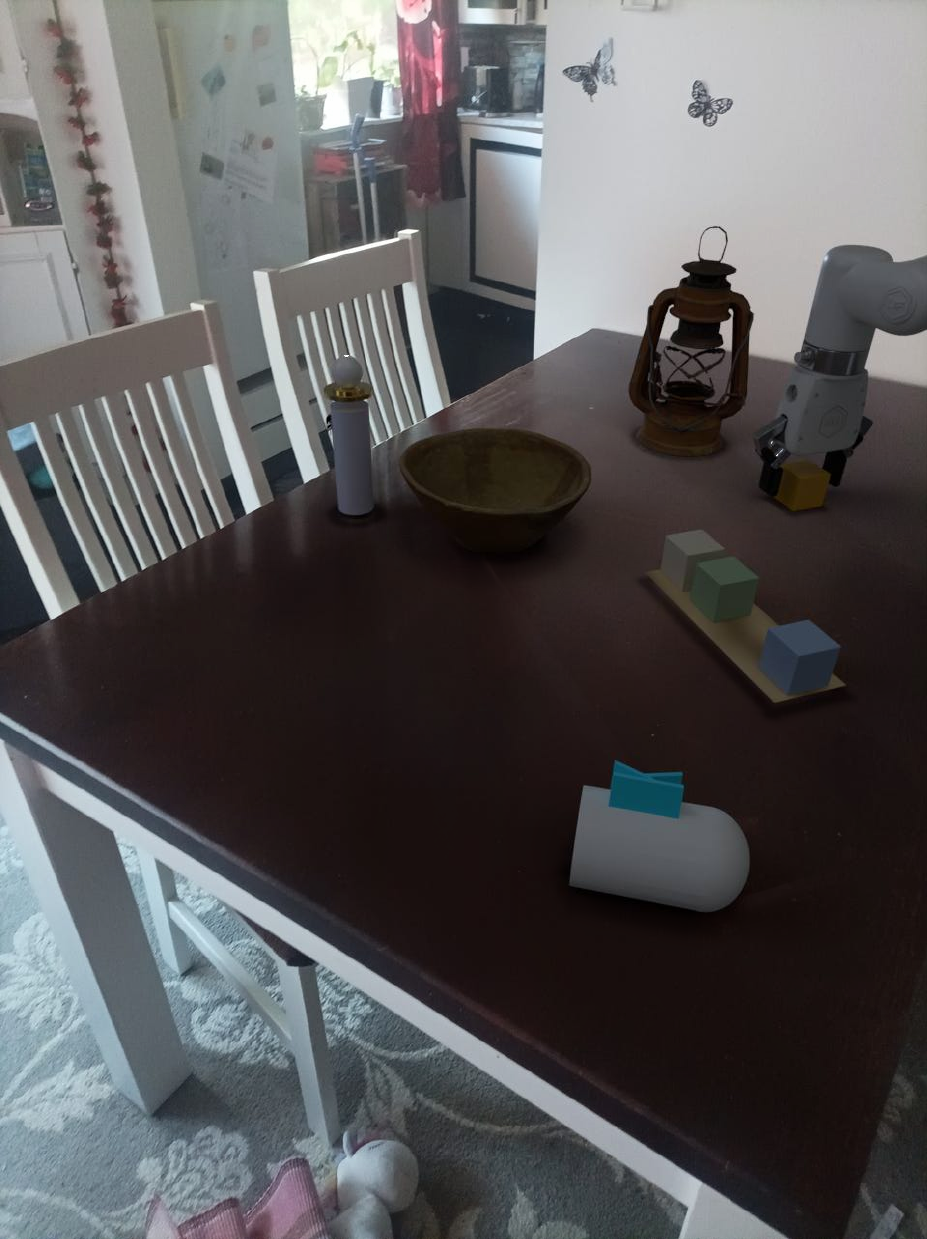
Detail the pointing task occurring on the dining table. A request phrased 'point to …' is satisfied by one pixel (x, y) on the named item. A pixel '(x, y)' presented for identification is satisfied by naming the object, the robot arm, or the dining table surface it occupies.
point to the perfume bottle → (351, 436)
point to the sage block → (723, 589)
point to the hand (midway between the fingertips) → (798, 487)
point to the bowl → (495, 485)
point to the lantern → (700, 311)
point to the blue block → (798, 657)
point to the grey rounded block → (657, 844)
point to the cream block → (687, 556)
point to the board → (737, 639)
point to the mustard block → (802, 485)
